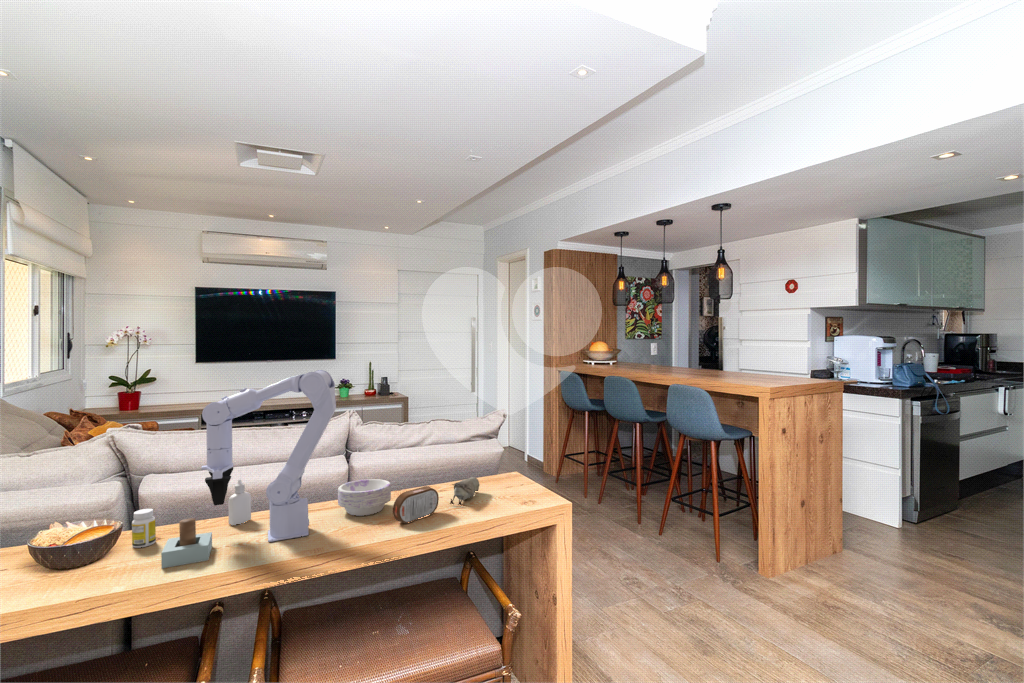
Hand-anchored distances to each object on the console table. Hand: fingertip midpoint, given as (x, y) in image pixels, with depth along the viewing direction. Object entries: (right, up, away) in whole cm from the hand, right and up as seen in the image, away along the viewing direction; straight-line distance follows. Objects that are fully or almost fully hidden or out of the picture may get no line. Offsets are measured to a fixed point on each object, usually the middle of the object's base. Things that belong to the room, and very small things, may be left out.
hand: (220, 500), depth 128 cm
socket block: (-1, -10, -11) cm, 15 cm away
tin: (+48, -10, +13) cm, 51 cm away
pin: (-1, -9, -11) cm, 14 cm away
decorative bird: (+61, -10, +30) cm, 68 cm away
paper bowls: (+31, -10, +20) cm, 39 cm away
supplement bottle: (-17, -10, -3) cm, 20 cm away
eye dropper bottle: (-1, -10, +12) cm, 15 cm away
